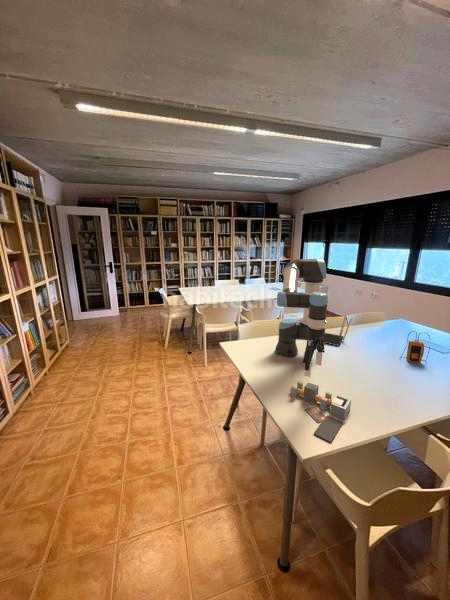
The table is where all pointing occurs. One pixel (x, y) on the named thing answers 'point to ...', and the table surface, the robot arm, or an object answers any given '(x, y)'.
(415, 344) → the multimeter
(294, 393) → the clip
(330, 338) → the wireless router
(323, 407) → the clip
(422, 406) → the table surface
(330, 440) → the smartphone
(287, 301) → the robot arm
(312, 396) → the orange rod with blocks
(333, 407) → the end holder
